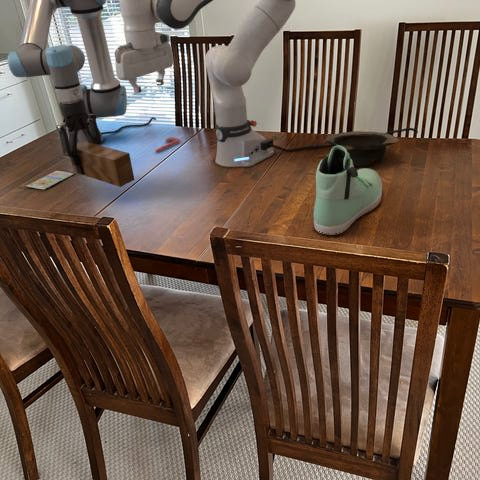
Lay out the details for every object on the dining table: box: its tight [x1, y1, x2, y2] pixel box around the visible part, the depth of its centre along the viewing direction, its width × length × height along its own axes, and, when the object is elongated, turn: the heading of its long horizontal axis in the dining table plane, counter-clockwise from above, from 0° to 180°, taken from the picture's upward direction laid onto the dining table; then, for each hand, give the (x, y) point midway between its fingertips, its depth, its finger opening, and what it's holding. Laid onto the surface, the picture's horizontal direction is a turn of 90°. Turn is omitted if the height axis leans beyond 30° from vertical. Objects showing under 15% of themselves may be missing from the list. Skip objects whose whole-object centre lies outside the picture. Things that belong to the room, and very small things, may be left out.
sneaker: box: [313, 146, 383, 236], centre depth 133 cm, size 14×35×20 cm, turn 152°
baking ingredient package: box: [26, 170, 75, 190], centre depth 172 cm, size 9×1×15 cm
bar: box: [69, 140, 136, 188], centre depth 153 cm, size 23×6×9 cm, turn 53°
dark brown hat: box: [324, 130, 399, 167], centre depth 168 cm, size 25×25×9 cm
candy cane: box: [155, 136, 180, 153], centre depth 194 cm, size 6×15×2 cm, turn 145°
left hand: (89, 169), depth 159 cm, fingers closed on bar, 6 cm apart
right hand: (149, 88), depth 146 cm, fingers open, 8 cm apart
